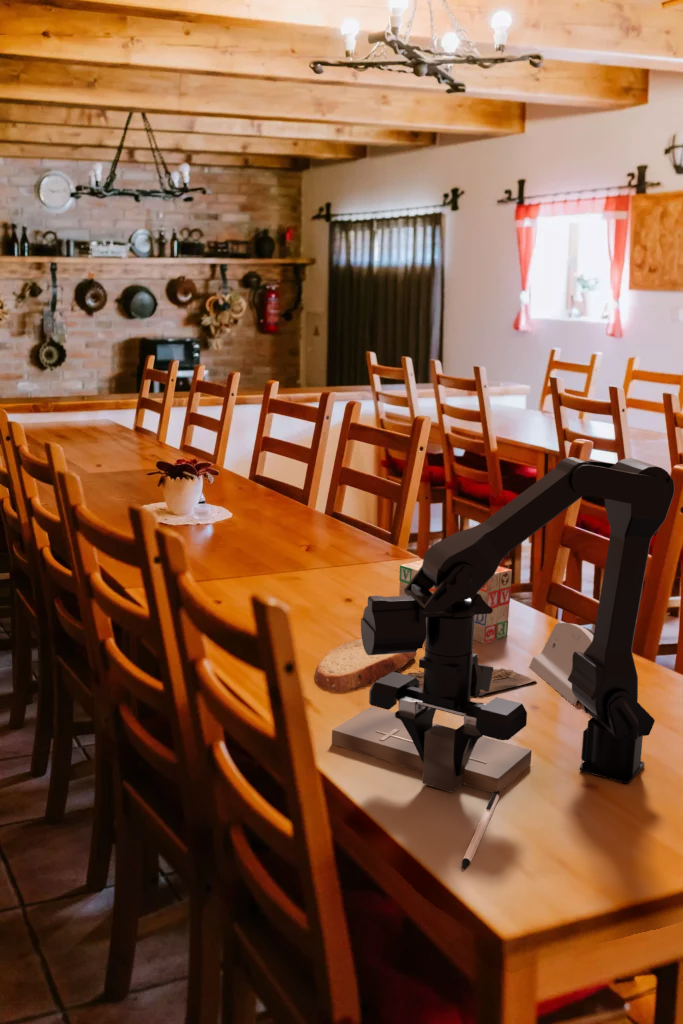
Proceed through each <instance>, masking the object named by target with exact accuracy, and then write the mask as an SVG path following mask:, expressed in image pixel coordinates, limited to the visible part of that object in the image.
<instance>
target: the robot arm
mask: <svg viewBox="0 0 683 1024" xmlns="http://www.w3.org/2000/svg"><path fill="white" fill-rule="evenodd" d="M675 487H676V486H675V480H674V478H672V476H671V475H670V473H669V472H668V471H667V470H666V469H664V468H662V467H660V466H657V465H654V464H651V463H648V462H645V461H642V460H639V459H635V458H632V457H630V458H629V457H628V458H623V459H620V460H618V461H617V462H616V463H612V462H606V461H599V460H584V459H579V458H577V457H573V456H571V457H566V458H563V459H561V460H560V461H558V462H557V464H556V465H555V467H554V468H553V469H552V470H550V471H548V472H547V473H546V474H545V475H543V476H542V477H540V478H539V479H538V480H537V481H536V482H534V483H533V484H532V485H530V486H529V487H527V488H526V489H525V490H523V492H521V493H520V494H519V495H517V496H516V497H515V498H513V499H512V500H511V501H509V502H508V503H507V504H505V505H504V506H503V507H501V508H500V509H499V510H498V511H496V512H495V513H493V514H492V515H491V516H490V517H488V518H487V519H486V520H484V521H483V522H480V523H479V524H478V525H475V526H473V527H470V528H467V529H464V530H459V531H457V532H454V533H452V534H451V535H449V536H447V537H445V538H443V539H441V540H439V541H437V542H436V543H434V544H432V545H431V546H430V547H429V548H428V549H427V550H426V552H425V553H424V555H423V559H422V560H423V565H422V567H421V568H420V569H419V571H418V572H417V573H416V575H415V576H414V577H413V579H412V580H411V581H410V583H409V584H408V585H407V587H406V588H405V589H404V593H405V594H406V595H407V596H399V595H395V596H394V595H393V596H382V595H369V596H368V597H367V606H365V608H364V611H363V615H362V618H361V619H360V634H361V635H360V637H361V638H362V642H363V646H364V650H365V652H366V654H367V655H382V654H397V653H411V652H416V653H417V651H418V650H419V649H423V647H424V656H422V657H420V658H419V661H418V668H421V669H423V672H424V683H423V689H420V688H419V681H418V679H417V678H416V677H413V676H409V675H407V674H406V673H405V674H406V675H405V674H404V673H400V672H396V671H395V672H392V673H390V674H388V675H386V676H385V677H382V678H380V679H378V680H375V681H373V682H372V683H371V686H370V688H369V693H368V698H369V699H368V703H369V705H370V706H373V707H377V708H381V709H384V710H388V711H390V710H391V709H392V708H394V706H396V705H397V704H398V707H397V708H398V710H397V711H395V717H396V718H398V719H400V720H401V721H402V723H403V725H404V726H405V728H406V730H407V731H408V733H409V735H410V737H411V738H412V741H413V743H414V745H415V747H416V749H417V751H418V754H419V756H420V758H421V760H422V762H423V761H424V738H425V732H426V731H427V730H429V729H430V728H432V727H433V723H434V717H435V714H436V711H441V712H445V713H449V714H452V715H456V716H459V717H463V724H462V725H461V726H458V728H457V729H456V728H455V729H456V730H455V771H456V776H460V775H462V774H463V772H464V769H465V767H466V765H467V762H468V760H469V758H470V755H471V753H472V751H473V749H474V746H475V744H476V742H477V741H478V739H479V738H481V737H486V738H490V739H494V740H497V741H509V740H510V739H512V738H513V737H514V736H515V735H516V734H517V733H519V732H521V730H522V729H524V728H525V727H526V726H527V720H528V719H527V718H528V712H527V710H526V707H525V706H524V704H523V703H522V702H517V701H513V700H509V699H505V698H501V697H498V696H496V697H494V698H493V699H491V700H490V701H489V702H487V703H484V702H475V701H472V700H471V698H472V697H474V698H477V697H478V696H479V695H480V690H484V691H486V692H489V688H490V683H491V678H492V673H493V669H494V666H490V665H485V664H482V663H479V657H478V654H477V653H474V641H475V639H474V621H475V615H478V614H491V613H492V612H493V609H492V608H491V607H490V606H489V605H487V604H486V603H485V601H484V600H483V599H482V597H481V595H480V594H479V593H478V591H479V590H480V589H481V588H482V587H483V586H484V585H485V584H486V583H487V582H488V581H489V580H490V579H491V577H492V576H493V575H494V574H495V572H496V570H497V568H498V566H500V564H501V563H502V561H503V560H504V559H505V558H506V557H507V556H508V554H509V553H510V552H511V551H513V550H514V549H516V548H517V547H518V546H520V545H521V544H522V543H524V542H525V541H526V540H527V539H529V538H530V537H531V536H533V535H534V534H535V533H536V532H538V531H539V530H540V529H542V528H543V527H545V526H546V525H547V524H548V523H549V522H551V521H552V520H553V519H555V518H556V517H557V516H559V515H560V514H561V513H563V512H564V511H565V510H567V509H568V508H569V507H571V506H572V505H574V504H575V503H576V502H577V501H578V500H581V498H582V497H584V496H589V497H596V498H600V499H604V509H605V512H606V516H607V521H608V525H609V529H610V530H609V531H610V534H609V541H608V546H607V553H606V559H605V565H604V572H603V578H602V583H601V590H600V595H599V599H598V600H599V601H598V606H597V613H596V619H595V624H594V625H595V626H594V629H593V631H594V636H593V640H592V643H591V644H590V645H589V647H588V648H587V649H586V651H585V652H584V653H581V652H576V651H575V652H574V653H573V657H572V662H573V665H572V671H571V674H570V676H569V678H568V681H569V682H570V683H572V692H573V694H574V695H575V697H576V698H577V699H578V700H577V702H580V704H581V705H582V708H583V711H584V712H585V713H586V714H588V715H589V716H591V718H590V719H588V721H587V727H586V728H585V729H584V730H583V732H582V743H581V761H582V763H581V764H580V765H579V771H581V772H585V773H587V774H593V775H595V776H598V777H602V778H607V779H610V780H613V781H616V782H621V783H624V784H630V783H631V782H632V781H633V780H634V778H636V776H637V775H638V774H639V773H640V772H641V770H643V768H644V767H645V764H646V763H645V762H644V761H643V760H642V749H643V748H642V747H643V739H644V737H645V736H649V735H650V734H651V731H652V729H653V727H654V725H655V721H656V719H655V718H654V717H653V716H652V715H651V714H650V713H649V712H648V711H647V710H646V709H645V708H644V707H643V706H642V705H641V704H640V703H639V702H638V700H639V675H638V672H637V667H636V664H635V659H634V654H633V646H634V645H633V643H634V639H635V633H636V628H637V620H638V615H639V610H640V605H641V599H642V593H643V587H644V582H645V577H646V576H645V574H646V570H647V563H648V559H649V558H648V557H649V553H650V546H651V541H652V538H653V537H654V535H655V534H656V533H657V531H658V530H659V529H660V527H661V526H662V525H663V523H664V522H665V521H666V519H667V516H668V514H669V510H670V507H671V504H672V502H673V498H674V496H675ZM433 586H434V587H435V588H436V590H435V592H434V593H433V594H432V593H431V592H430V591H429V589H430V588H432V587H433Z"/></svg>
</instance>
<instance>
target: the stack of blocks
mask: <svg viewBox="0 0 683 1024" xmlns="http://www.w3.org/2000/svg"><path fill="white" fill-rule="evenodd" d="M423 560H424V559H421V560H417V561H412V562H408V563H403V564H400V565H399V575H398V576H399V579H398V580H399V592H398V594H399V595H398V596H407V595H406V594H405V593H404V589H405V588H406V587H407V585H408V584H409V583H410V581H411V580H412V579H413V577H414V576H415V575H416V573H417V572H418V571H419V569H420V568H421V567H422V565H423ZM512 573H513V569H510V568H507V567H503V566H500V565H499V566H498V568H497V570H496V572H495V574H494V575H493V576H492V577H491V579H490V580H489V581H488V582H487V583H486V584H485V585H484V586H483V587H482V588H481V589H480V590H479V591H478V593H479V594H480V595H481V597H482V599H483V600H484V601H485V603H486V604H487V605H489V606H490V607H491V608H492V609H493V612H492V613H491V614H478V615H475V621H474V641H479V642H480V643H483V644H484V643H488V642H489V643H490V642H492V641H495V640H498V639H501V637H502V638H504V636H505V637H508V629H509V614H510V613H509V611H510V602H511V593H512V592H511V591H512V586H511V585H512V575H513V574H512ZM435 590H436V588H435V587H434V586H433V587H432V588H430V589H429V591H430V592H431V593H432V594H433V593H434V592H435Z"/></svg>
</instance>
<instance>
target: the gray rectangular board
mask: <svg viewBox="0 0 683 1024" xmlns="http://www.w3.org/2000/svg"><path fill="white" fill-rule="evenodd" d="M395 712H396V711H395ZM395 712H394V711H391V710H387V709H383V708H379V707H376V706H372V705H370V707H368V708H366V709H365V710H362V711H361V712H360V713H358V714H357V715H354V716H353V717H351V718H349V719H348V720H345V722H342V723H341V724H339V725H338V726H336V727H335V728H333V729H332V730H331V745H334V746H338V747H341V748H345V749H347V750H351V751H354V752H358V753H361V754H363V755H367V756H370V757H374V758H377V759H381V760H384V761H386V762H391V763H393V764H397V765H400V766H404V767H407V768H411V769H414V770H416V771H420V772H423V762H422V760H421V758H420V756H419V754H418V751H417V749H416V747H415V745H414V743H413V741H412V738H411V737H410V735H409V733H408V731H407V730H406V728H405V726H404V725H403V723H402V721H401V720H400V719H398V718H396V717H395ZM436 724H438V725H440V724H439V723H434V722H433V726H435V725H436ZM444 726H445V725H444ZM445 727H447V726H445ZM449 728H451V727H450V726H449ZM531 763H532V749H529V748H526V747H522V746H518V745H515V744H511V743H507V742H504V741H502V740H498V739H494V738H491V737H487V736H482V737H481V738H479V739H478V741H477V742H476V744H475V746H474V749H473V751H472V753H471V755H470V758H469V760H468V762H467V765H466V767H465V769H464V774H463V784H462V785H466V786H469V787H472V788H475V789H479V790H482V791H486V792H489V793H492V794H493V792H495V791H496V792H497V791H499V793H500V792H501V791H502V790H503V789H504V788H506V787H507V786H508V785H509V784H510V783H511V782H512V781H513V780H515V779H516V778H517V777H518V776H519V775H520V774H522V773H523V772H524V771H525V770H526V769H528V767H530V765H531Z"/></svg>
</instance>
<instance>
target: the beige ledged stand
mask: <svg viewBox="0 0 683 1024" xmlns="http://www.w3.org/2000/svg"><path fill="white" fill-rule="evenodd" d="M593 636H594V630H592V629H590V628H588V627H586V626H581V625H579V624H577V623H576V624H575V623H570V622H569V623H567V622H557V623H555V624H554V626H553V629H552V631H551V633H550V634H549V636H548V639H547V641H546V642H545V644H544V647H543V649H542V650H541V652H540V653H538V654H535V655H534V656H533V657H532V659H531V662H530V664H529V666H528V668H530V669H531V670H532V671H533V672H534V673H535V674H536V675H538V676H539V677H540V678H541V679H542V680H544V681H545V682H546V683H547V684H548V685H549V686H550V687H552V688H553V689H554V690H555V691H556V692H557V693H558V694H560V695H561V696H562V697H563V698H564V699H565V700H567V702H568V703H570V704H571V706H572V705H573V706H576V705H577V702H578V699H577V698H576V697H575V695H574V694H573V692H572V683H570V682H569V681H568V678H569V676H570V674H571V671H572V665H573V662H572V657H573V653H574V652H575V651H576V652H581V653H584V652H585V651H586V649H587V648H588V647H589V645H590V644H591V643H592V640H593Z"/></svg>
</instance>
